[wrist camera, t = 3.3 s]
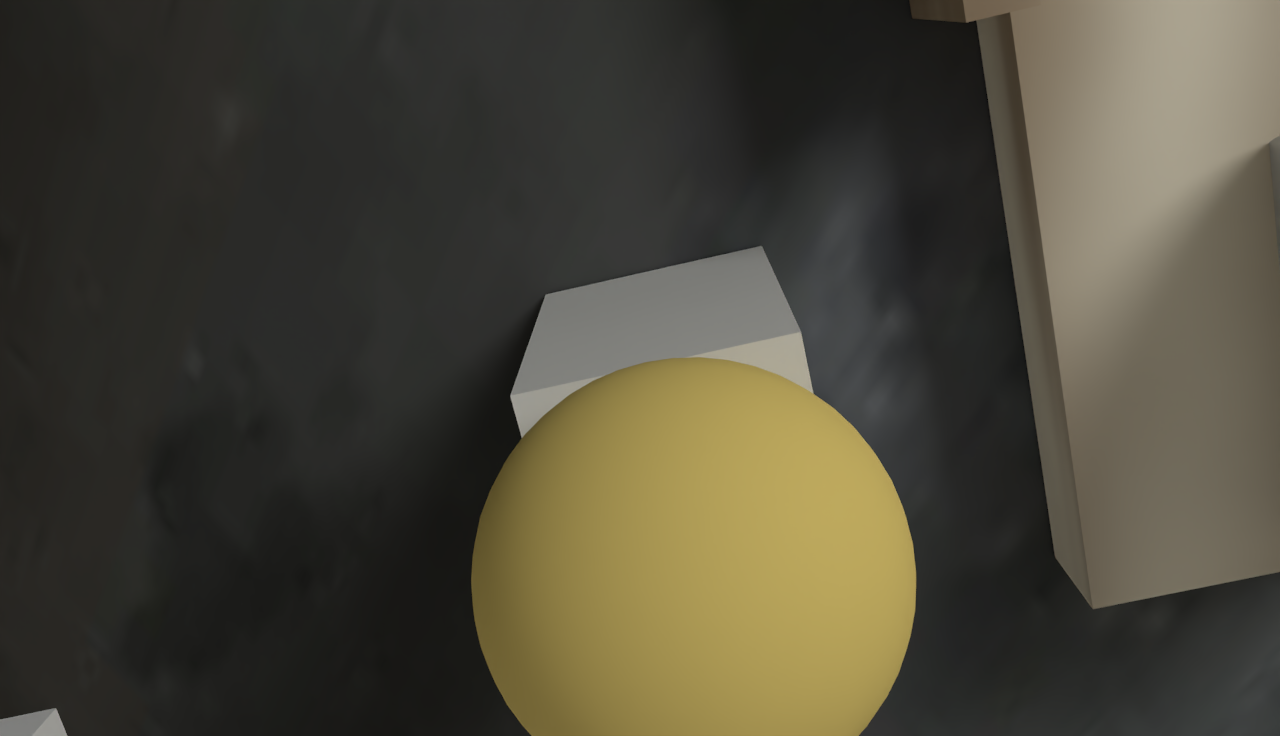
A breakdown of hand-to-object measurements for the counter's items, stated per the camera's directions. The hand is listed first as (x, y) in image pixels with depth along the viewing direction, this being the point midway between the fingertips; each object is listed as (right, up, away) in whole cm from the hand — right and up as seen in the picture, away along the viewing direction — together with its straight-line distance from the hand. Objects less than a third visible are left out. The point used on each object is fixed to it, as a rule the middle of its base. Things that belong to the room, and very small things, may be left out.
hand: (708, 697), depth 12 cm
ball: (0, +1, +2) cm, 2 cm away
